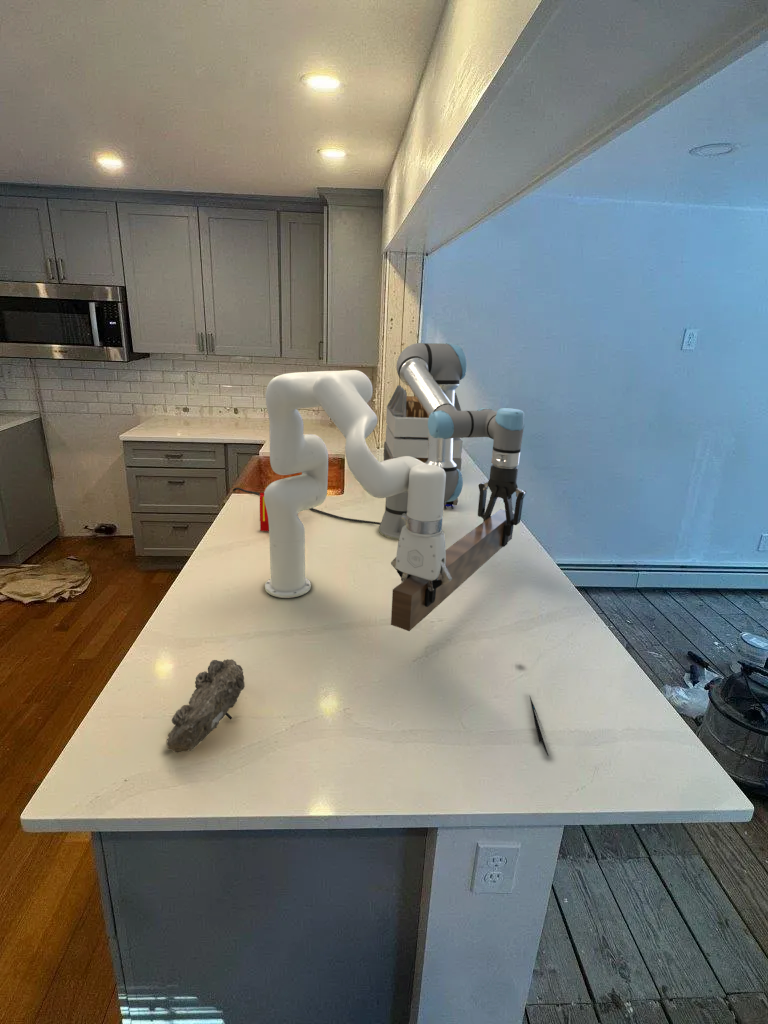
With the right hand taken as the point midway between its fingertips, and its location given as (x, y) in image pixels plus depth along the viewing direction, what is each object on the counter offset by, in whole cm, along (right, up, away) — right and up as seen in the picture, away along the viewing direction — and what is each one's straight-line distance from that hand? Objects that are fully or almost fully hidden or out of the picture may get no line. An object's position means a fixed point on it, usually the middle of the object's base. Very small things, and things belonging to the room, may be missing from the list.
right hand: (495, 542), depth 165 cm
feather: (-3, -31, -50) cm, 59 cm away
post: (-13, -7, -19) cm, 24 cm away
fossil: (-65, -30, -57) cm, 92 cm away
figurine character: (-6, +12, +67) cm, 68 cm away
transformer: (-15, +28, +110) cm, 115 cm away
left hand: (-25, -10, -40) cm, 48 cm away
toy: (-71, +7, +44) cm, 84 cm away
